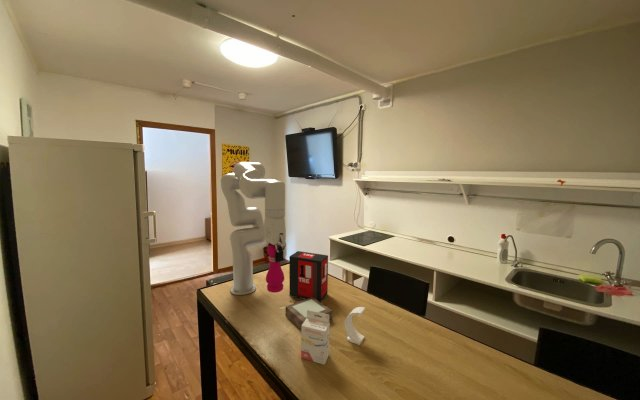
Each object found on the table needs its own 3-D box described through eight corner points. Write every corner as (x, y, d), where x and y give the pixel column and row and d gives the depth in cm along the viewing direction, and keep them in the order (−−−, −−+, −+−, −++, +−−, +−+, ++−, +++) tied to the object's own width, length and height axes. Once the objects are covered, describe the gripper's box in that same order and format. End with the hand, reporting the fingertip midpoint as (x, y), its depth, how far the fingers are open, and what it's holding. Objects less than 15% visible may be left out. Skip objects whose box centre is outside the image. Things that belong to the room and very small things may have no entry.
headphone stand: (359, 345, 91) (360, 313, 89) (344, 339, 94) (344, 308, 93) (364, 338, 95) (365, 307, 93) (349, 332, 98) (350, 302, 96)
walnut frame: (285, 315, 109) (285, 305, 108) (312, 305, 117) (312, 296, 117) (303, 332, 98) (303, 321, 97) (332, 319, 106) (332, 309, 106)
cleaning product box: (327, 294, 128) (328, 255, 125) (320, 302, 120) (321, 261, 117) (297, 288, 134) (297, 251, 132) (289, 295, 126) (289, 256, 123)
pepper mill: (280, 294, 97) (280, 243, 95) (262, 292, 99) (262, 241, 96) (286, 285, 104) (287, 238, 102) (270, 283, 106) (269, 236, 103)
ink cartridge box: (300, 358, 84) (300, 316, 82) (306, 348, 89) (306, 308, 87) (325, 365, 81) (325, 322, 80) (329, 355, 86) (330, 313, 84)
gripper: (256, 210, 102) (257, 254, 105) (276, 218, 88) (276, 268, 91) (273, 209, 107) (273, 250, 109) (295, 216, 93) (294, 263, 95)
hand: (275, 258), depth 100 cm, fingers closed on pepper mill, 6 cm apart
